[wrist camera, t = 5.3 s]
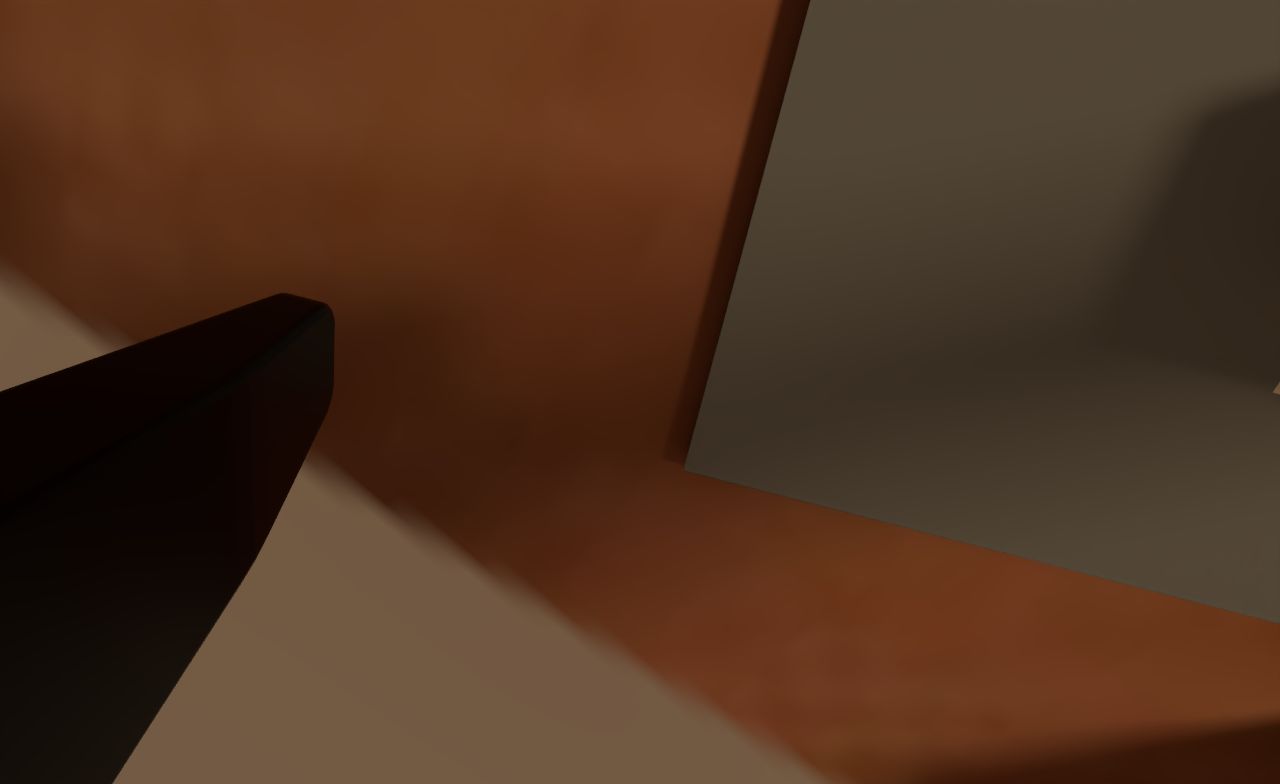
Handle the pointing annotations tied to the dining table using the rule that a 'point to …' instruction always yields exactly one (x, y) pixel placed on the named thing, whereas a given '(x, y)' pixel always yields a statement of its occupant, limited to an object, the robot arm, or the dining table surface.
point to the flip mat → (1022, 287)
